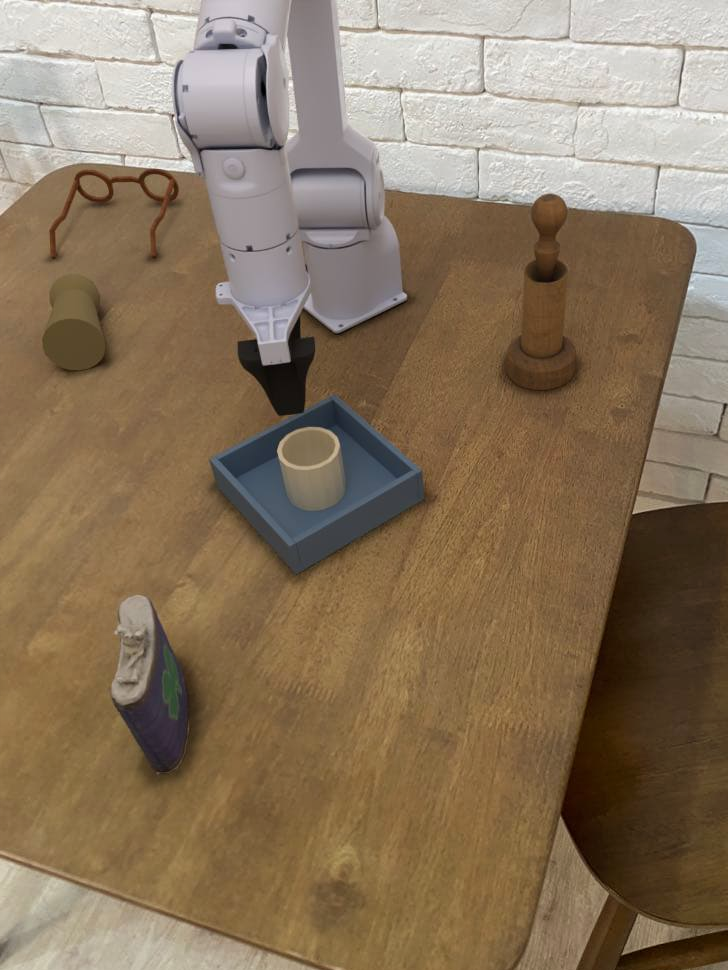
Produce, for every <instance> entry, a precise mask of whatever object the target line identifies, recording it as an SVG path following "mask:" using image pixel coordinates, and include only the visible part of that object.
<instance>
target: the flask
mask: <svg viewBox="0 0 728 970" xmlns="http://www.w3.org/2000/svg"><path fill="white" fill-rule="evenodd" d="M117 618H118V625H117V627H116V629H115V630H114V631H113V634H114V635H115V636H117V635H119V634H120V637H119V642H120V644H119V653H118V663H117V667H116V672H115V674H114V678H113V680H112V682H111V685H110V691H109V694H110V698H111V700H112V703H113V705H114V707H115V708H116V711H117V712H118V713H119V715H120V718H122V720H123V721H124V723H125V725H126V727H127V728H128V729H129V730H130V733H131V734H132V737H133V738H134V740H135V742H136V744H137V745H138V746H139V747H140V749H141V751H142V753H143V754H144V757H145V758H146V759H147V761H148V764H149V767H150V768H151V769H152V770H153V771H154V772H156V775H157V776H158V775H160V774H169V773H172V772H173V771H176V770H177V769H178V768H179V766H180V765H181V764H182V762H183V758H184V756H185V754H186V751H187V743H188V739H189V731H190V725H191V724H190V717H191V716H190V715H191V714H190V711H189V700H188V697H189V696H188V688H187V684H186V678H185V675H184V671H183V668H182V666H181V665H180V663H179V661H178V659H177V656H176V654H175V651H174V649H173V648H172V646H171V644H170V641H169V638H168V636H167V635H166V632H165V629H164V627H163V624H162V623H161V621H160V618H159V616H158V613H157V611H156V609H155V607H154V603H153V601H152V600H151V599H150V598H149V597H148V596H146V595H144V594H143V595H141V594H133V595H131V596H129V597H126V598H125V599H124V600H122V601H121V602H120V604H119V606H118V611H117Z"/></svg>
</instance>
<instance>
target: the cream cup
mask: <svg viewBox="0 0 728 970" xmlns="http://www.w3.org/2000/svg"><path fill="white" fill-rule="evenodd" d="M277 453H278V458H279V462H280V466H281V471H282V475H283V480H284V484H285V488H286V493H287V497H288V499H289V501H290V502H291V503H292V504H293V505H294V506H295V507H297V508H299V509H302V510H306V511H320V510H324V509H327V508H330V507H332V506H334V505H335V504H337V503H338V502H339V501H340V500H341V499H342V498H343V496H344V494H345V491H346V479H345V473H344V467H343V460H342V454H341V448H340V443H339V440H338V437H337V436H336V435H335V434H334V433H332V432H331V431H329V430H327V429H324V428H321V427H306V428H301V429H297V430H295V431H293V432H291V433H289V434H287V435H286V436H285V437H284V438H283V439H282V440H281V441H280V443H279V446H278V449H277Z"/></svg>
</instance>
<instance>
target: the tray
mask: <svg viewBox="0 0 728 970" xmlns="http://www.w3.org/2000/svg"><path fill="white" fill-rule="evenodd" d="M306 427H321V428H324V429H327V430H329V431H331V432H332V433H334V434H335V435H336V436H337V437H338V440H339V443H340V448H341V454H342V460H343V467H344V473H345V479H346V491H345V494H344V496H343V498H342V499H341V500H340V501H339V502H338V503H337V504H335V505H334V506H332V507H330V508H327V509H324V510H320V511H306V510H302V509H299V508H297V507H295V506H294V505H293V504H292V503H291V502H290V501H289V499H288V497H287V493H286V488H285V484H284V480H283V475H282V471H281V466H280V462H279V458H278V453H277V449H278V446H279V443H280V441H281V440H282V439H283V438H284V437H285V436H286V435H287V434H289V433H291V432H293V431H295V430H297V429H301V428H306ZM208 461H209V465H210V468H211V472H212V474H213V477H214V481H215V484H216V487H217V488H218V490H219V491H220V492H221V493H222V494H223V495H224V497H226V498H227V500H228V501H229V502H230V503H231V504H232V505H233V506H234V507H235V509H236V510H237V511H238V512H239V513H240V514H241V515H242V516H243V518H245V519H246V521H247V522H248V523H249V524H250V525H251V526H252V527H253V529H254V530H255V531H256V532H257V533H258V534H259V536H261V537H262V539H263V540H264V541H265V542H266V543H267V544H268V546H270V547H271V549H272V550H273V551H274V552H275V553H276V554H277V555H278V556H279V558H280V559H281V560H282V561H283V562H284V563H285V564H286V565H287V566H288V567H289V568H290V570H291V571H292V572H293V573H294V574H295V575H299V574H300V573H302V572H303V571H306V570H307V569H308V568H310V567H312V566H314V565H315V564H318V563H319V562H320V561H322V560H323V559H325V558H327V557H329V556H330V555H332V554H334V553H335V552H337V551H339V550H341V549H342V548H344V547H345V546H347V545H349V544H351V543H353V542H354V541H356V540H358V539H360V538H361V537H363V536H365V535H366V534H368V533H369V532H371V531H373V530H374V529H376V528H378V527H379V526H382V525H383V524H384V523H386V522H388V521H389V520H392V519H393V518H394V517H396V516H398V515H400V514H401V513H403V512H405V511H407V510H408V509H410V508H412V507H413V506H415V505H417V504H418V503H420V502H422V501H423V500H425V489H424V477H423V469H421V468H420V466H418V465H417V464H416V463H415V462H414V461H412V460H411V459H410V458H409V457H408V456H406V455H405V453H404V452H402V451H401V450H400V449H398V448H397V447H396V446H395V445H394V444H393V443H392V442H391V441H389V440H388V439H387V438H386V437H385V436H384V435H383V434H381V433H380V431H378V430H377V429H375V427H373V426H372V425H371V424H369V422H367V421H366V420H365V419H364V418H363V417H362V416H360V414H358V413H357V412H356V411H355V410H354V409H353V408H352V407H350V405H348V404H347V403H346V402H345V401H344V400H342V398H340V397H339V396H338V395H336V394H335V393H333V394H332V395H330V396H328V397H326V398H324V399H322V400H320V401H318V402H316V403H314V404H312V405H311V406H308V407H307V408H304V412H303V413H300V414H293V415H290V416H289V417H287V418H286V419H283V420H281V421H279V422H278V423H276V424H274V425H272V426H270V427H268V428H266V429H264V430H262V431H260V432H258V433H256V434H254V435H252V436H251V437H248V438H247V439H245V440H242V441H241V442H239V443H237V444H235V445H233V446H231V447H229V448H226V449H225V450H223V451H221V452H220V453H218V454H216V455H214V456H211V457H209V458H208Z"/></svg>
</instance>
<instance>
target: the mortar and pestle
mask: <svg viewBox="0 0 728 970" xmlns="http://www.w3.org/2000/svg"><path fill="white" fill-rule="evenodd" d="M567 217H568V206H567V204H566V202H565V200H564V198H562V196H561V195H558V194H555V193H545V194H542V195H539V197H538V198H536V200H535V201H534V202H533V204H532V206H531V211H530V218H531V221H532V224H533V225H534V227H535V229H536V230H537V232H538V240H537V241H536V242H535V243H534V245H533V252H534V253H533V254H534V257H535V259H534V260H531V261H529V262H528V263H527V264H526V265H525V266H524V269H523V293H522V294H523V295H522V296H523V298H522V321H521V334H520V335H518V336H516V337H515V338H514V339H513V340H512V341H510V343H509V344H508V347H507V352H506V366H505V368H506V369H505V370H506V374H507V376H508V378H509V379H510V380H511V381H512V382H513V383H514V384H515V385H517V386H519V387H521V388H523V389H527V390H533V391H548V390H549V391H550V390H553V389H557V388H560V387H562V386H564V385H565V384H567V383H568V382H569V381H570V380H571V379H572V378H573V376H574V374H575V371H576V361H577V358H576V357H577V349H576V346H575V344H574V342H573V341H572V340H571V339H569V338H568V337H567V336H566V335H564V329H565V328H564V326H565V314H566V301H567V300H566V299H567V289H568V288H567V287H568V276H569V269H568V266H567V264H566V263H565V262H563V261H562V260H559V259H558V258H559V255H560V252H561V247H562V246H561V244H560V242H558V241H557V235H558V232H559V231H560V230H561V229H562V227H563V226H564V224H565V222H566V220H567Z"/></svg>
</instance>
